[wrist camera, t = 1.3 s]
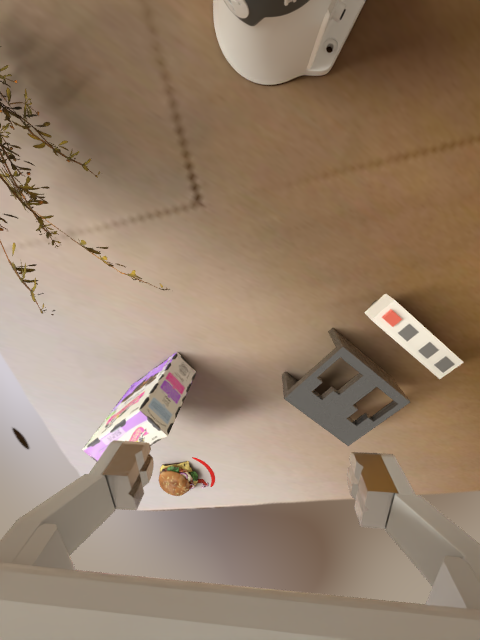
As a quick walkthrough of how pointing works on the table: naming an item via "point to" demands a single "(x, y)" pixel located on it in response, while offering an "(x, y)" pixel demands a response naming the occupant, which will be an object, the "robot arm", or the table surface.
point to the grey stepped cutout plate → (343, 393)
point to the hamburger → (181, 478)
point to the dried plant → (26, 187)
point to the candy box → (146, 407)
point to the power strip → (413, 336)
